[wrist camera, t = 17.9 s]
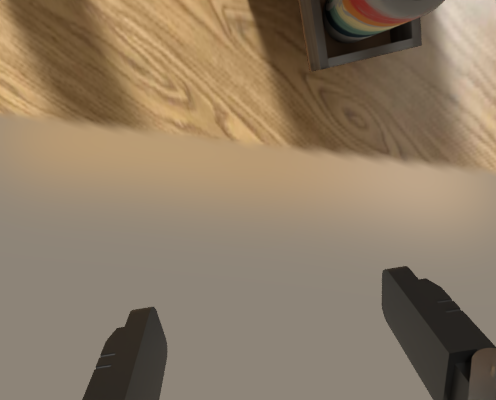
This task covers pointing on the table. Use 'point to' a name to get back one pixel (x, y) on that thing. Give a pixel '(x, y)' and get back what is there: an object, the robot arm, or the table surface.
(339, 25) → the lotion bottle
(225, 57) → the table surface
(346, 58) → the bracket
